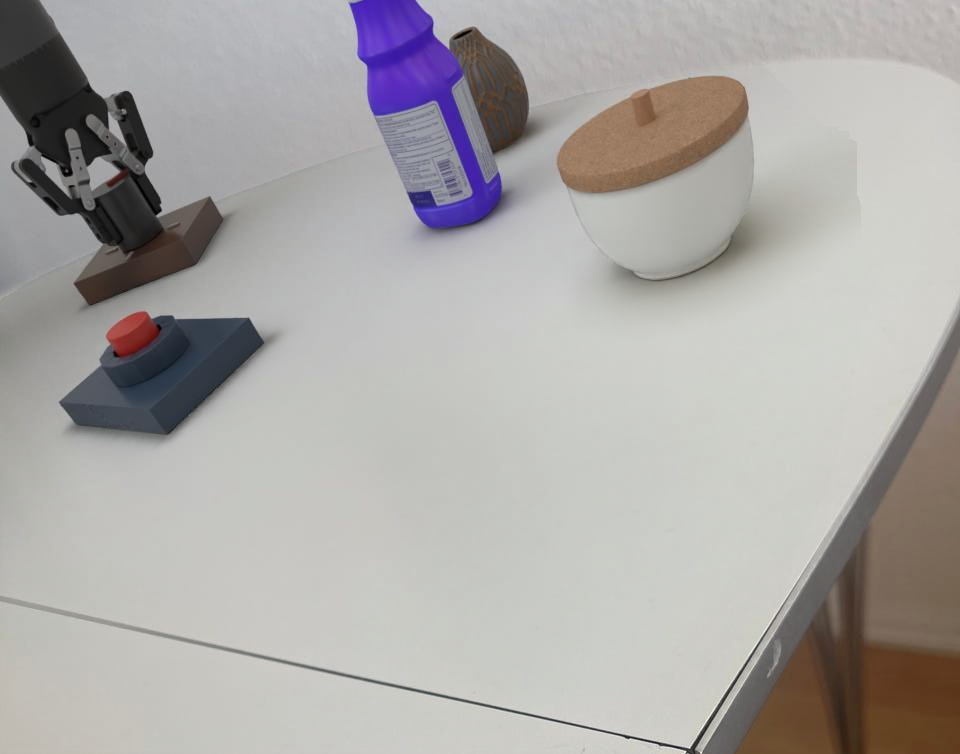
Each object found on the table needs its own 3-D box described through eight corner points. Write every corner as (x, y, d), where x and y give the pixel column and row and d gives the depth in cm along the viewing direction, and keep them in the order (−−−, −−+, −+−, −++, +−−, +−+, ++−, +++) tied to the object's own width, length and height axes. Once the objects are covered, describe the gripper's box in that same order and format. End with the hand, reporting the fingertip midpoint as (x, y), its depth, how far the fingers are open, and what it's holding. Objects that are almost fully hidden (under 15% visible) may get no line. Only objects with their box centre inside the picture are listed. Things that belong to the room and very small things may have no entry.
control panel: (88, 305, 99) (71, 281, 98) (121, 259, 106) (106, 236, 104) (196, 263, 95) (180, 238, 93) (223, 218, 102) (209, 194, 100)
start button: (111, 359, 75) (96, 339, 74) (143, 330, 76) (130, 311, 75) (137, 359, 73) (122, 339, 72) (169, 330, 74) (156, 310, 73)
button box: (75, 424, 79) (42, 383, 76) (168, 341, 83) (140, 300, 81) (167, 434, 70) (133, 388, 68) (264, 342, 75) (236, 295, 73)
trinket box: (588, 321, 58) (535, 167, 52) (602, 235, 65) (556, 90, 59) (775, 270, 54) (741, 96, 48) (768, 184, 61) (738, 23, 55)
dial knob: (136, 251, 96) (99, 195, 93) (113, 252, 100) (76, 197, 96) (171, 224, 98) (136, 167, 95) (147, 225, 101) (112, 171, 98)
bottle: (520, 187, 77) (429, -65, 65) (486, 227, 74) (385, -29, 62) (446, 200, 81) (349, -35, 69) (412, 238, 78) (304, 0, 67)
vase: (497, 163, 82) (456, 52, 76) (449, 160, 87) (408, 57, 81) (554, 120, 84) (519, 8, 78) (505, 120, 89) (468, 15, 83)
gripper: (62, 19, 93) (167, 193, 104) (-60, 94, 87) (65, 270, 98) (99, 4, 88) (206, 188, 99) (-28, 83, 82) (100, 269, 93)
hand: (135, 228), depth 98 cm, fingers closed on dial knob, 5 cm apart
